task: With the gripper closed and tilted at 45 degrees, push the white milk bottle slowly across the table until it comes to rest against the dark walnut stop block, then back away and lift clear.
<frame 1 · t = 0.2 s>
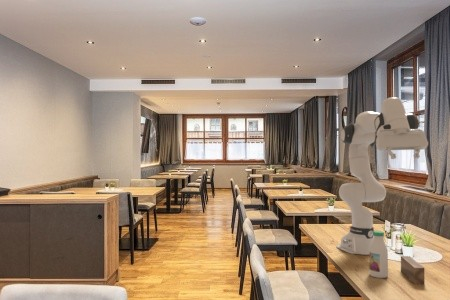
hand: (405, 158, 153), 54 cm above the table, tool tilted 30°, fingers open, 8 cm apart
milk bottle: (378, 276, 168), on the table
walnut stop block: (412, 277, 165), on the table
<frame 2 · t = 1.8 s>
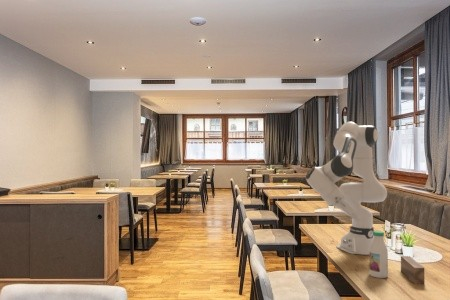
hand: (355, 218, 169), 26 cm above the table, tool tilted 45°, fingers open, 8 cm apart
nothing on the table moved.
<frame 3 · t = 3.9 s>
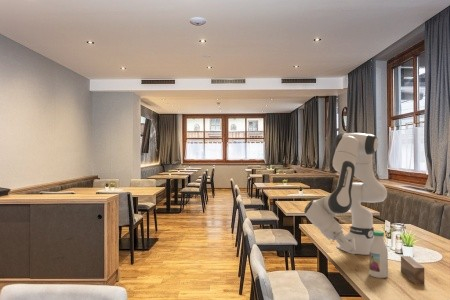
hand: (354, 252, 169), 10 cm above the table, tool tilted 45°, fingers closed
nothing on the table moved.
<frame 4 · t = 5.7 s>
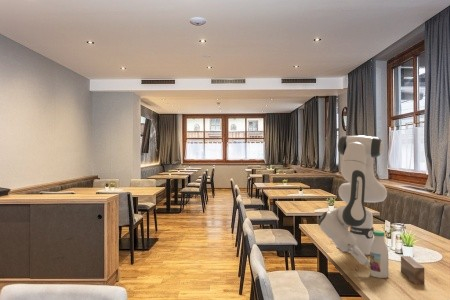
hand: (368, 264, 168), 5 cm above the table, tool tilted 45°, fingers closed, pressing on milk bottle
milk bottle: (379, 276, 167), on the table, touching gripper
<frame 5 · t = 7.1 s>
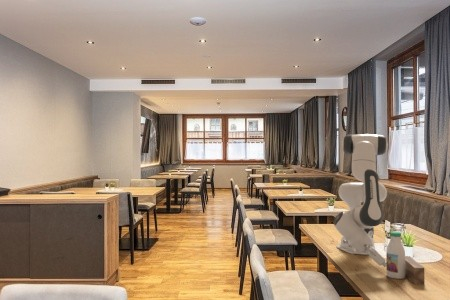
hand: (385, 265, 167), 5 cm above the table, tool tilted 45°, fingers closed, pressing on milk bottle
milk bottle: (395, 276, 166), on the table, touching gripper
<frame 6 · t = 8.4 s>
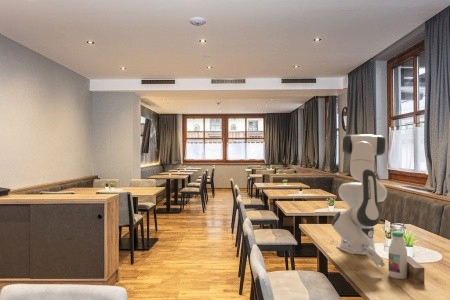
hand: (383, 265, 167), 5 cm above the table, tool tilted 45°, fingers closed
milk bottle: (397, 277, 166), on the table
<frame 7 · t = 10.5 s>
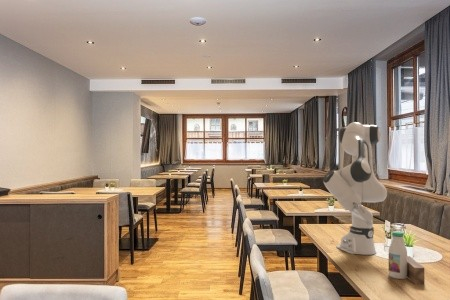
hand: (370, 224, 170), 23 cm above the table, tool tilted 40°, fingers closed
nothing on the table moved.
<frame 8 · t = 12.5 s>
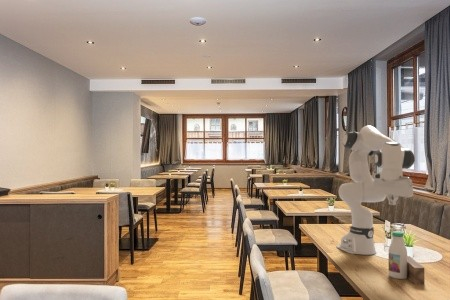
hand: (392, 204, 176), 31 cm above the table, tool pointing down, fingers closed
nothing on the table moved.
at the end: milk bottle 6.0 cm from the walnut stop block (horizontally); milk bottle tilted 0°; milk bottle moved 8.3 cm from its start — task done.
